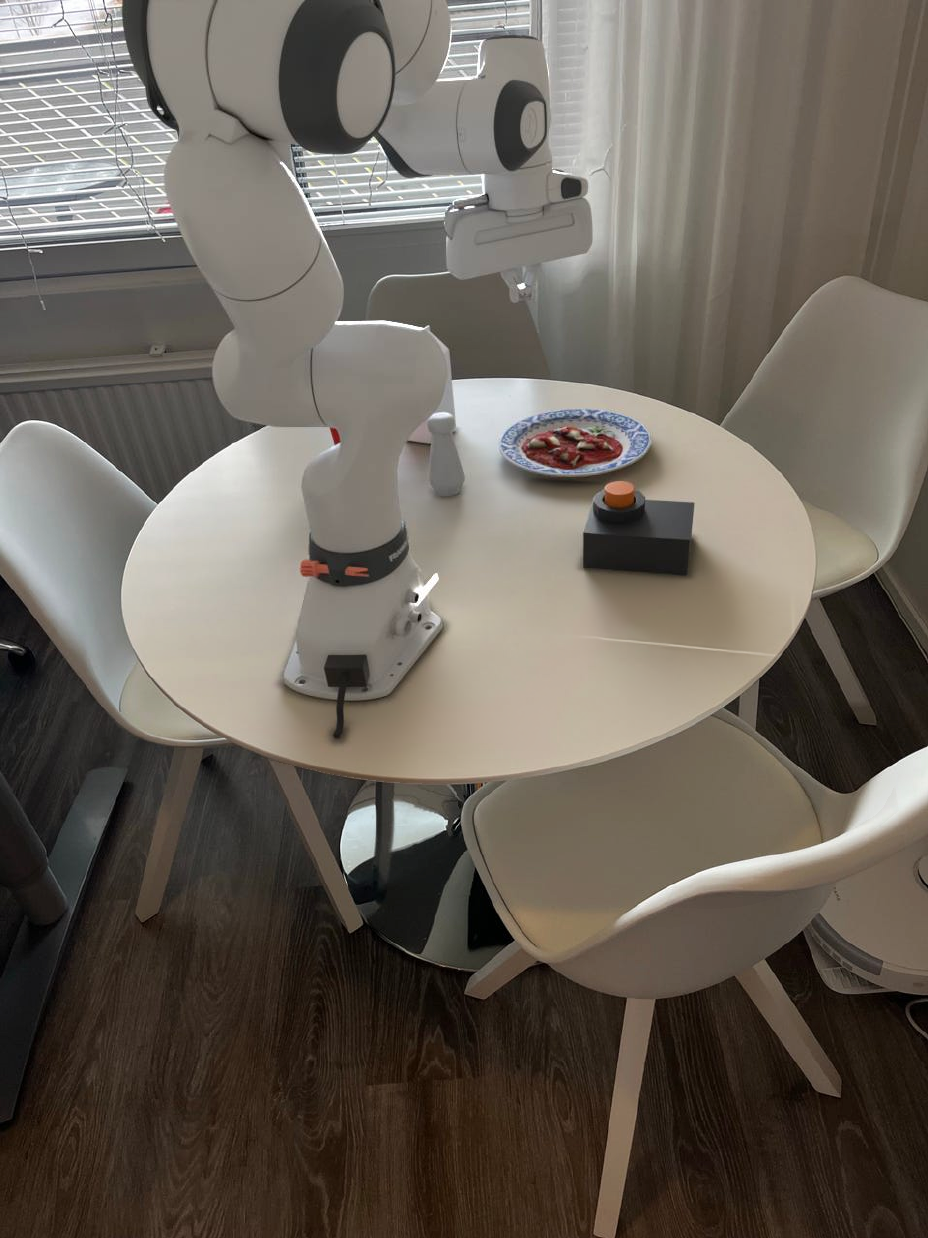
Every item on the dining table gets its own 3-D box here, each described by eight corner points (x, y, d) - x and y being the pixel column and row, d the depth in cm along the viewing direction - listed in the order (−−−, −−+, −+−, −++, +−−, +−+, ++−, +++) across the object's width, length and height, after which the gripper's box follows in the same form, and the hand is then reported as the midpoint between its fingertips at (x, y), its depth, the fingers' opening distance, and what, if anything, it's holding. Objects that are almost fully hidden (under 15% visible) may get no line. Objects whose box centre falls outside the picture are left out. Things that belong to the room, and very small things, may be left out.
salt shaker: (467, 481, 144) (461, 407, 136) (464, 498, 139) (457, 422, 131) (432, 482, 144) (424, 408, 137) (428, 499, 140) (419, 423, 132)
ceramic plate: (553, 503, 136) (553, 486, 134) (472, 446, 154) (470, 430, 152) (683, 456, 145) (684, 440, 143) (591, 408, 163) (591, 392, 161)
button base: (691, 537, 125) (695, 490, 120) (687, 576, 117) (691, 528, 112) (593, 530, 128) (593, 485, 124) (583, 568, 121) (583, 521, 116)
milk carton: (404, 441, 158) (391, 337, 147) (422, 425, 163) (411, 323, 152) (439, 446, 155) (428, 340, 144) (456, 429, 160) (447, 326, 149)
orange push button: (635, 495, 121) (636, 481, 120) (632, 509, 118) (632, 495, 117) (606, 493, 122) (606, 480, 121) (602, 507, 119) (602, 493, 118)
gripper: (453, 206, 105) (462, 321, 113) (599, 178, 111) (598, 290, 119) (432, 198, 109) (443, 309, 117) (573, 172, 115) (574, 280, 123)
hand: (522, 299), depth 118 cm, fingers closed
